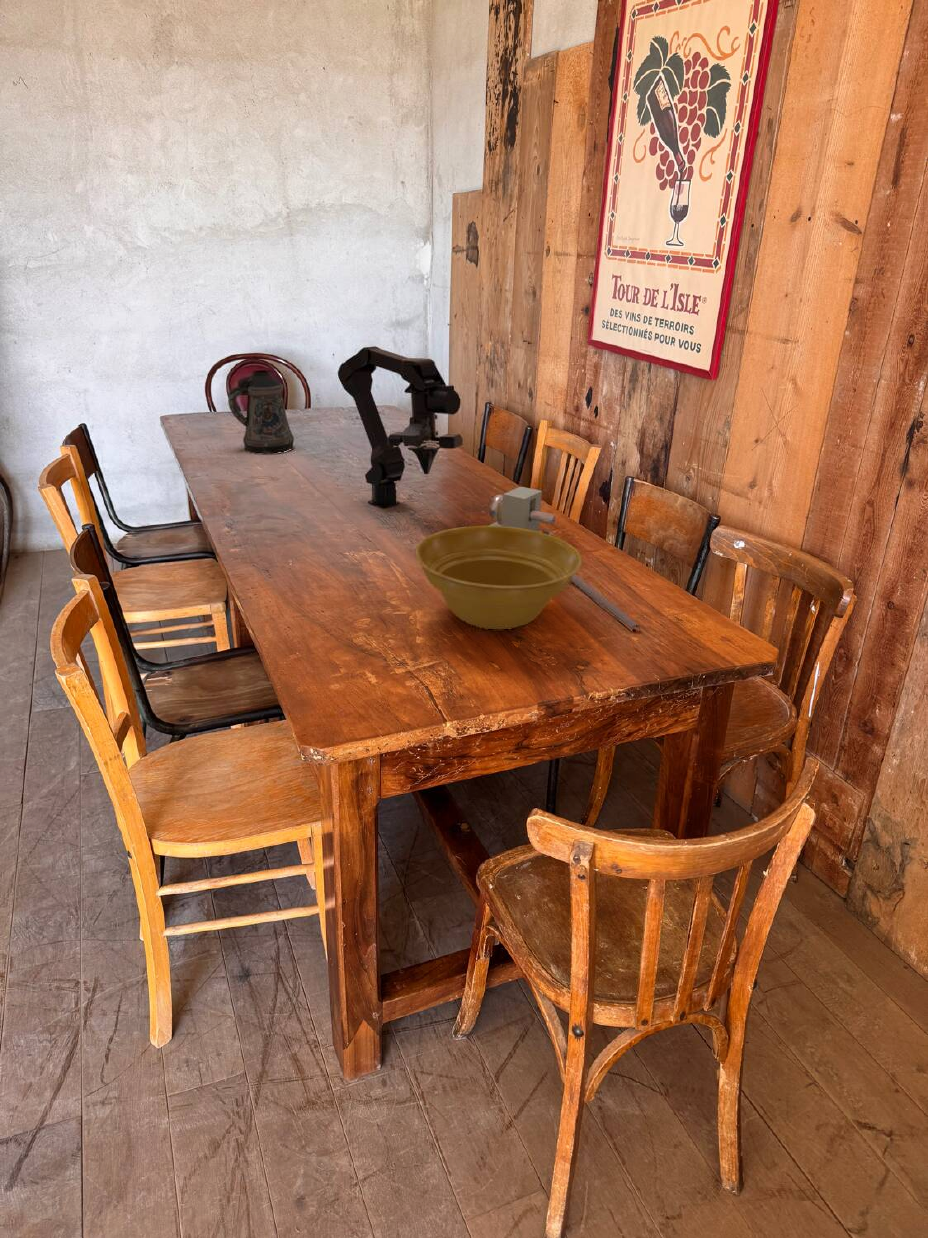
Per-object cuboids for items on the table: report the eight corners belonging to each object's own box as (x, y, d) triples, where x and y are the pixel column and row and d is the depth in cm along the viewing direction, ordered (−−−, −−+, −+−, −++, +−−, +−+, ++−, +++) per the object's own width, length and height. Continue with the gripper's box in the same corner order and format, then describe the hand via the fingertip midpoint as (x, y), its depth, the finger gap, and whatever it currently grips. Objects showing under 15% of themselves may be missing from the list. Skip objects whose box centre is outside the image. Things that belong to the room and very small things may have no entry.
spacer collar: (497, 522, 209) (498, 502, 207) (508, 517, 213) (509, 497, 211) (504, 524, 208) (505, 504, 206) (515, 519, 212) (516, 499, 210)
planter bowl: (603, 643, 158) (611, 577, 152) (437, 661, 149) (439, 592, 143) (541, 579, 185) (545, 520, 180) (397, 591, 177) (398, 530, 171)
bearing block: (479, 534, 211) (481, 489, 206) (498, 525, 218) (500, 481, 213) (535, 548, 203) (539, 502, 198) (553, 538, 210) (556, 493, 205)
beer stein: (304, 447, 284) (301, 371, 273) (263, 458, 269) (257, 378, 258) (268, 440, 292) (263, 365, 281) (226, 450, 277) (219, 372, 266)
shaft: (489, 520, 210) (490, 497, 207) (501, 515, 214) (503, 492, 212) (545, 534, 202) (547, 510, 199) (557, 528, 206) (559, 504, 204)
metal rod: (575, 581, 186) (576, 572, 185) (639, 633, 163) (640, 623, 162) (567, 581, 186) (568, 573, 185) (630, 634, 163) (632, 624, 162)
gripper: (374, 415, 207) (379, 478, 213) (443, 417, 200) (445, 482, 206) (396, 409, 217) (400, 469, 222) (462, 411, 209) (464, 473, 215)
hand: (426, 473), depth 216 cm, fingers closed
